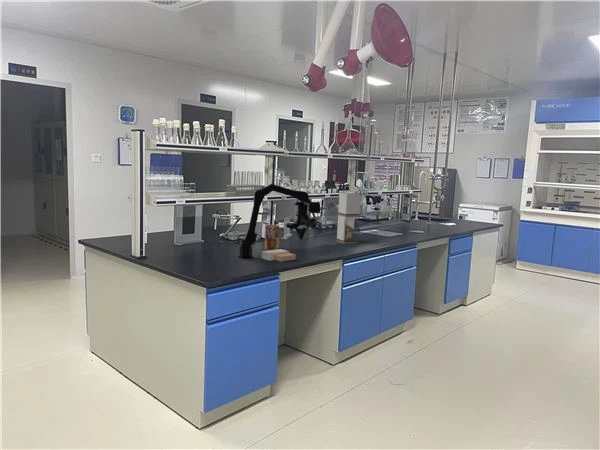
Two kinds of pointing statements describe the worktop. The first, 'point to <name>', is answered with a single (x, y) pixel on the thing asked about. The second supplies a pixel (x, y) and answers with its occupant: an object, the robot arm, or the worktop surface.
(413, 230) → the worktop surface
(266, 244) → the candy box
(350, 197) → the tall white box
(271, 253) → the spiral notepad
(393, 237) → the worktop surface
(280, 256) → the pink rectangular slab
